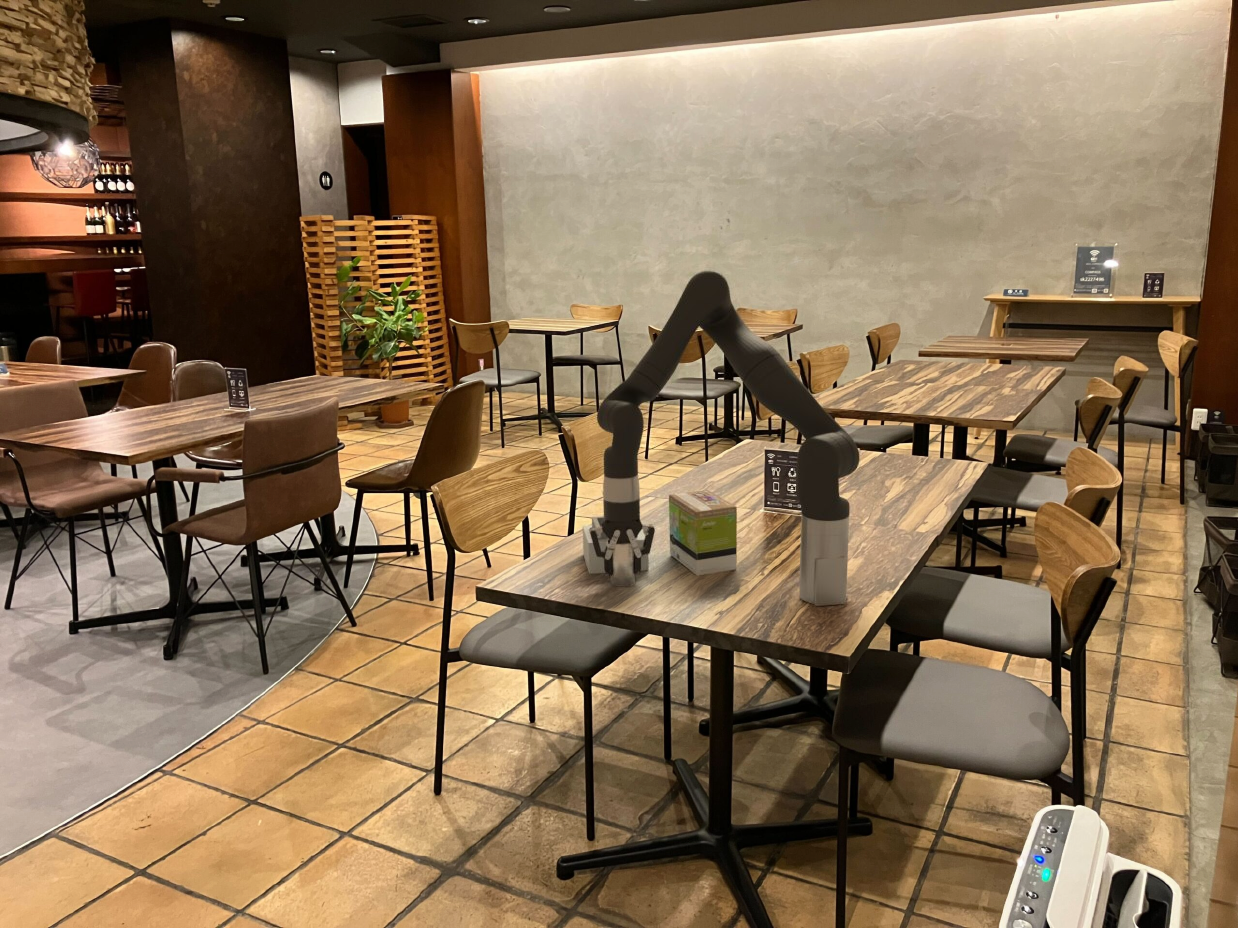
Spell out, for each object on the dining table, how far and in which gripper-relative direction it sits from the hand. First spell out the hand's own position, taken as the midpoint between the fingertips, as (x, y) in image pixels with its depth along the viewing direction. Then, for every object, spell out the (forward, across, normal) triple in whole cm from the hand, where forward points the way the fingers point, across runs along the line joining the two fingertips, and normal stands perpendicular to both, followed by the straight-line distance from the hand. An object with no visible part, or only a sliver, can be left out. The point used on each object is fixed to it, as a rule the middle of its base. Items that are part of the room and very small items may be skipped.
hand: (622, 573), depth 204 cm
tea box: (+2, +19, +9) cm, 21 cm away
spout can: (+2, 0, 0) cm, 2 cm away
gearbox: (+2, 0, +13) cm, 13 cm away
